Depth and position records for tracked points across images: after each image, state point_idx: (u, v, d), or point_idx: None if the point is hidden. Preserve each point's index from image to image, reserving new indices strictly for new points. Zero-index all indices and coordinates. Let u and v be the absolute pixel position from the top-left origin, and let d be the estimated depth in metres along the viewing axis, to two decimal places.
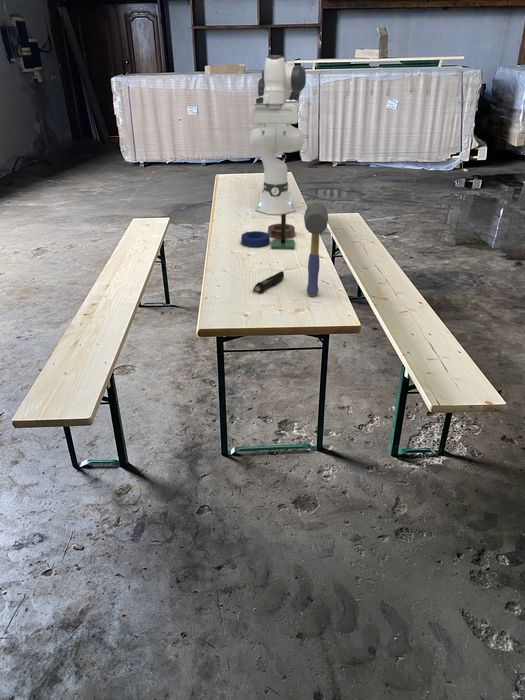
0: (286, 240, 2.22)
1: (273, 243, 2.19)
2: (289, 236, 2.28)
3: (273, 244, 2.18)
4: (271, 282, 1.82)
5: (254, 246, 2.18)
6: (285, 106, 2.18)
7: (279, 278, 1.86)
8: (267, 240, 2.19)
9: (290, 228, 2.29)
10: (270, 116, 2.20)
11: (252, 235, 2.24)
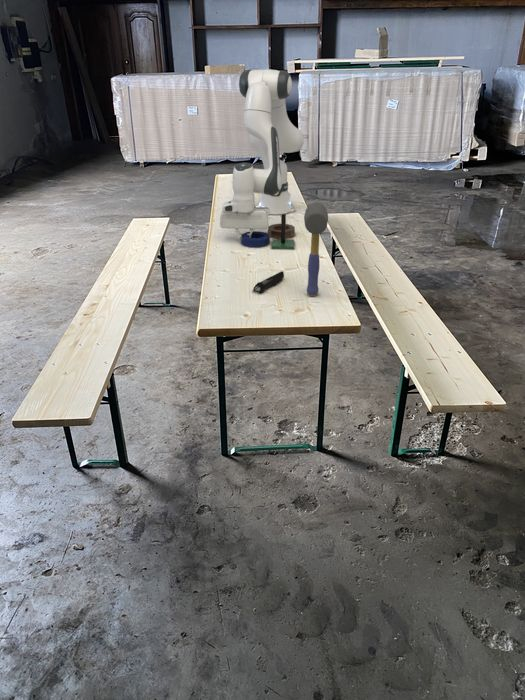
0: (286, 240, 2.22)
1: (273, 243, 2.19)
2: (289, 236, 2.28)
3: (273, 244, 2.18)
4: (271, 282, 1.82)
5: (254, 246, 2.18)
6: (255, 213, 2.15)
7: (279, 278, 1.86)
8: (267, 240, 2.19)
9: (290, 228, 2.29)
10: (240, 222, 2.17)
11: (252, 235, 2.24)
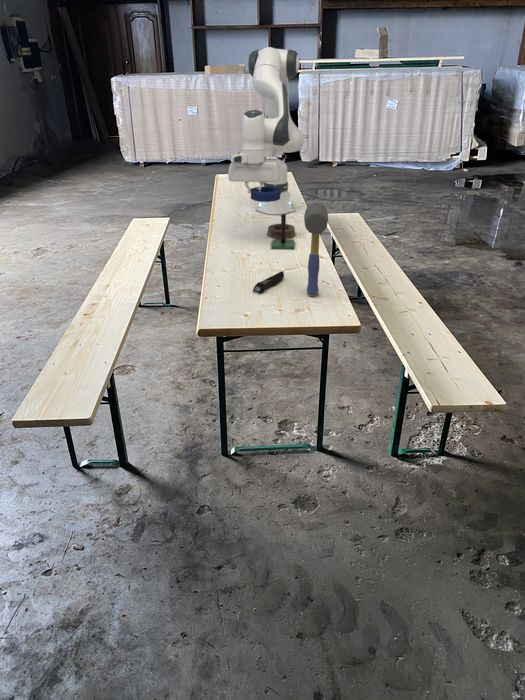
0: (286, 240, 2.22)
1: (273, 243, 2.19)
2: (289, 236, 2.28)
3: (273, 244, 2.18)
4: (271, 282, 1.82)
5: (264, 200, 2.07)
6: (265, 164, 2.04)
7: (279, 278, 1.86)
8: (278, 194, 2.08)
9: (290, 228, 2.29)
10: (249, 174, 2.06)
11: (262, 190, 2.14)
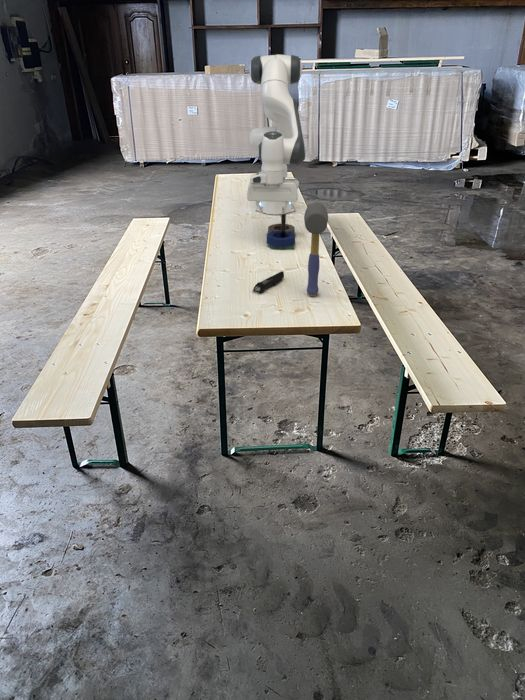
0: None
1: None
2: None
3: None
4: (271, 282, 1.82)
5: (280, 246, 2.14)
6: (284, 185, 2.06)
7: (279, 278, 1.86)
8: (293, 240, 2.16)
9: (290, 228, 2.29)
10: (268, 194, 2.08)
11: (277, 235, 2.21)
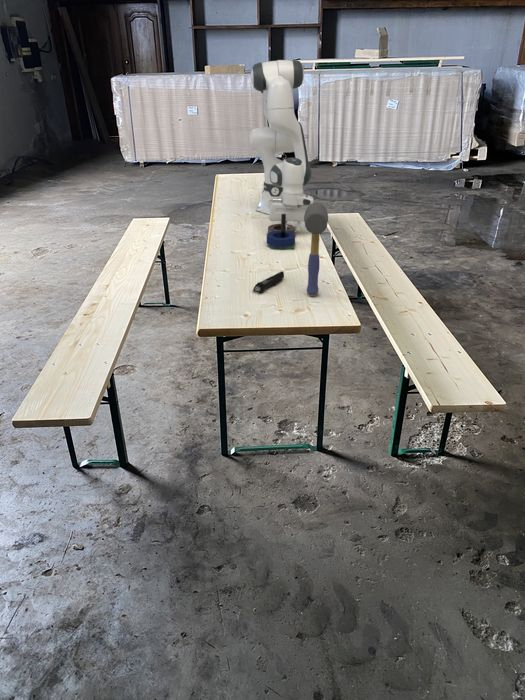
0: None
1: None
2: None
3: None
4: (271, 282, 1.82)
5: (280, 246, 2.14)
6: None
7: (279, 278, 1.86)
8: (293, 240, 2.16)
9: (290, 228, 2.29)
10: None
11: (277, 235, 2.21)
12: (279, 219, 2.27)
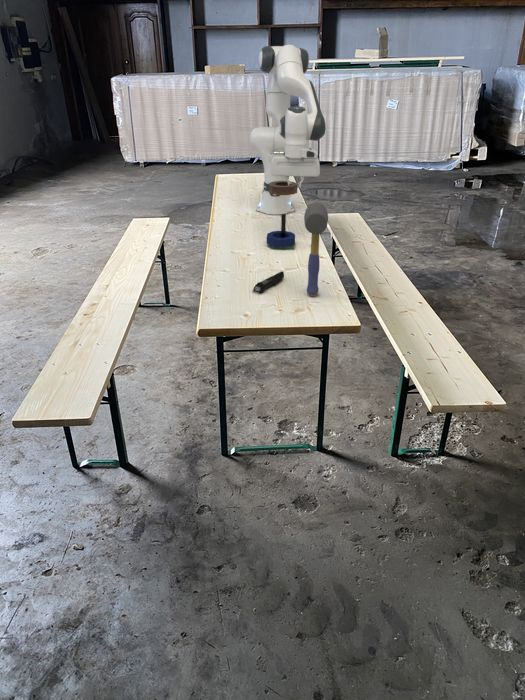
0: None
1: None
2: (291, 192, 2.13)
3: None
4: (271, 282, 1.82)
5: (280, 246, 2.14)
6: None
7: (279, 278, 1.86)
8: (293, 240, 2.16)
9: (292, 184, 2.15)
10: None
11: (277, 235, 2.21)
12: (281, 174, 2.12)
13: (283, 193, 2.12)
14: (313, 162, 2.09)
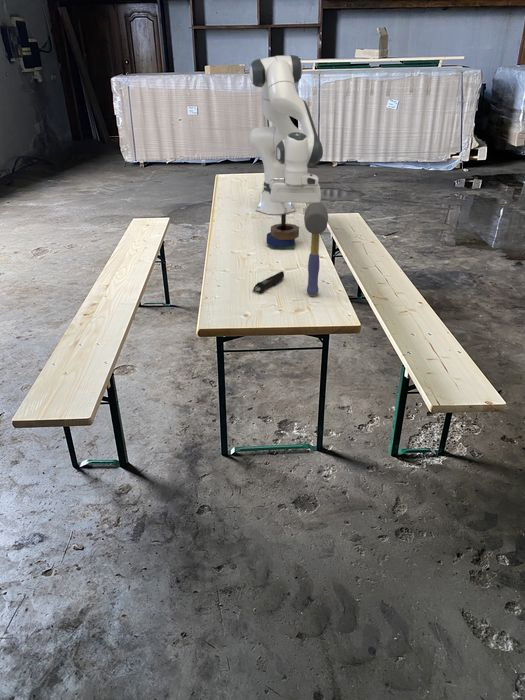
0: None
1: None
2: (293, 237, 2.13)
3: None
4: (271, 282, 1.82)
5: (279, 246, 2.14)
6: None
7: (279, 278, 1.86)
8: (293, 240, 2.16)
9: (294, 228, 2.15)
10: None
11: None
12: (281, 200, 2.09)
13: (285, 238, 2.12)
14: (314, 189, 2.06)
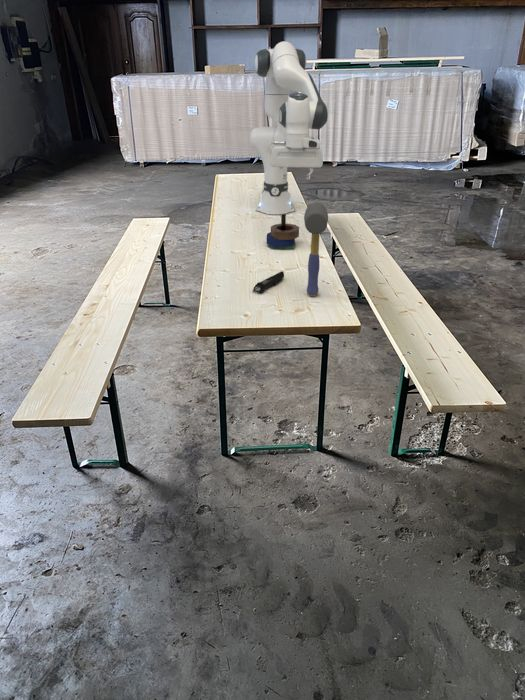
0: None
1: None
2: (293, 237, 2.13)
3: None
4: (271, 282, 1.82)
5: (279, 246, 2.14)
6: None
7: (279, 278, 1.86)
8: (293, 240, 2.16)
9: (294, 228, 2.15)
10: None
11: None
12: (282, 165, 2.02)
13: (285, 238, 2.12)
14: (315, 152, 1.99)
